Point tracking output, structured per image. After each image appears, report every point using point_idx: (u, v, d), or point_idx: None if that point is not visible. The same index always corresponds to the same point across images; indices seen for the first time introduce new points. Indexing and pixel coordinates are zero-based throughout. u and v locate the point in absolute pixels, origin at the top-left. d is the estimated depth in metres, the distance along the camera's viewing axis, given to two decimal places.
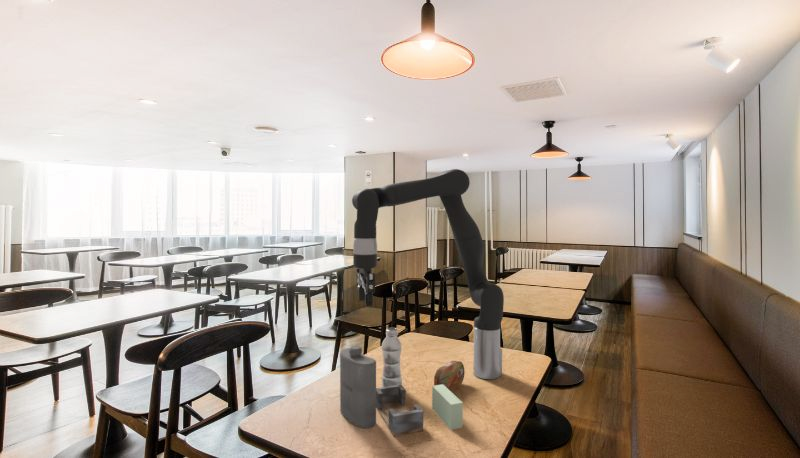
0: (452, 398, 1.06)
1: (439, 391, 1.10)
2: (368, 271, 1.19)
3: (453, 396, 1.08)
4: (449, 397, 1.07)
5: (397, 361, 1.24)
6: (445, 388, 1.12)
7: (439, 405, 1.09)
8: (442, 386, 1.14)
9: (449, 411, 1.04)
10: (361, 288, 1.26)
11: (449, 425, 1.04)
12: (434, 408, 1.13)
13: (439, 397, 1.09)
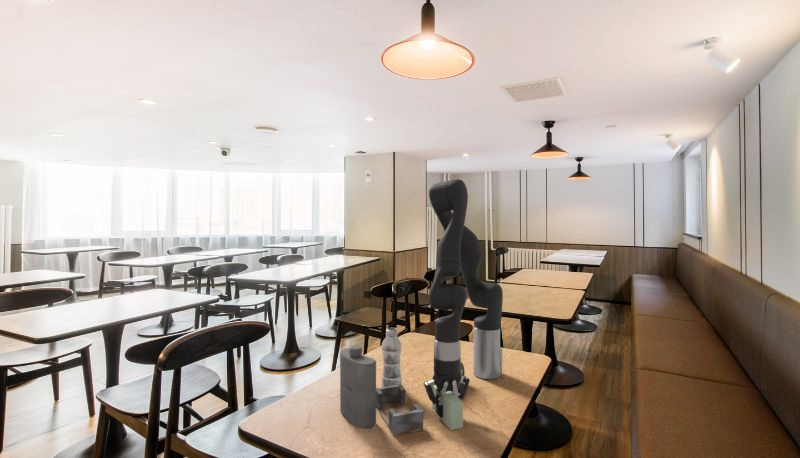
0: (452, 397, 1.06)
1: None
2: None
3: (453, 395, 1.07)
4: (449, 396, 1.07)
5: (397, 361, 1.24)
6: None
7: None
8: None
9: (449, 411, 1.03)
10: None
11: (449, 425, 1.04)
12: (434, 408, 1.13)
13: None
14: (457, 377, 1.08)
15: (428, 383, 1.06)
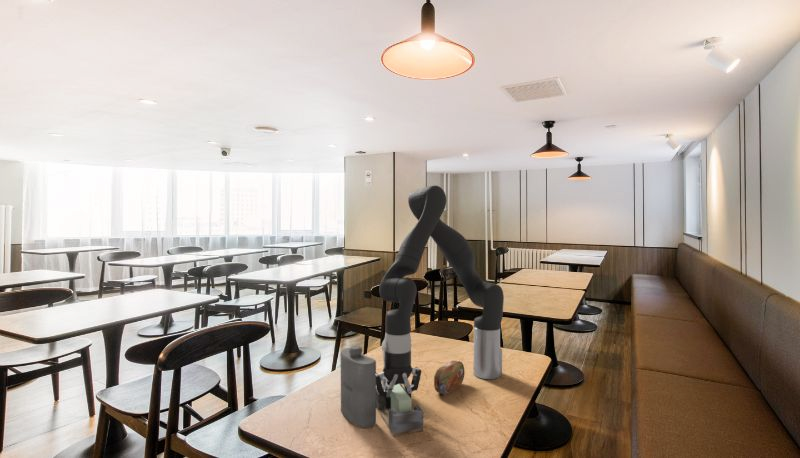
0: (402, 395, 1.06)
1: None
2: None
3: (404, 392, 1.08)
4: (399, 393, 1.07)
5: None
6: (398, 385, 1.13)
7: (391, 402, 1.10)
8: None
9: (398, 407, 1.04)
10: None
11: None
12: None
13: (391, 393, 1.09)
14: (408, 370, 1.09)
15: (378, 374, 1.07)
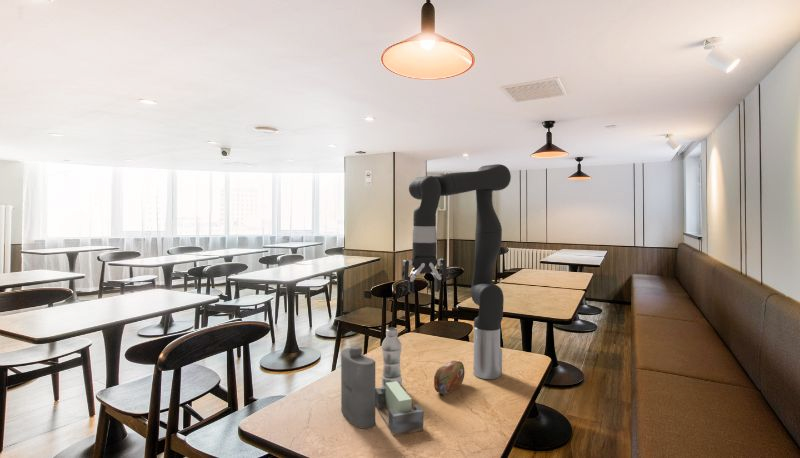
0: (402, 395, 1.06)
1: (391, 388, 1.11)
2: None
3: (404, 392, 1.08)
4: (399, 393, 1.07)
5: (397, 361, 1.24)
6: (398, 385, 1.13)
7: (391, 402, 1.10)
8: (395, 383, 1.14)
9: (398, 407, 1.04)
10: None
11: None
12: (387, 405, 1.13)
13: (391, 393, 1.09)
14: (433, 261, 1.20)
15: (407, 260, 1.18)
